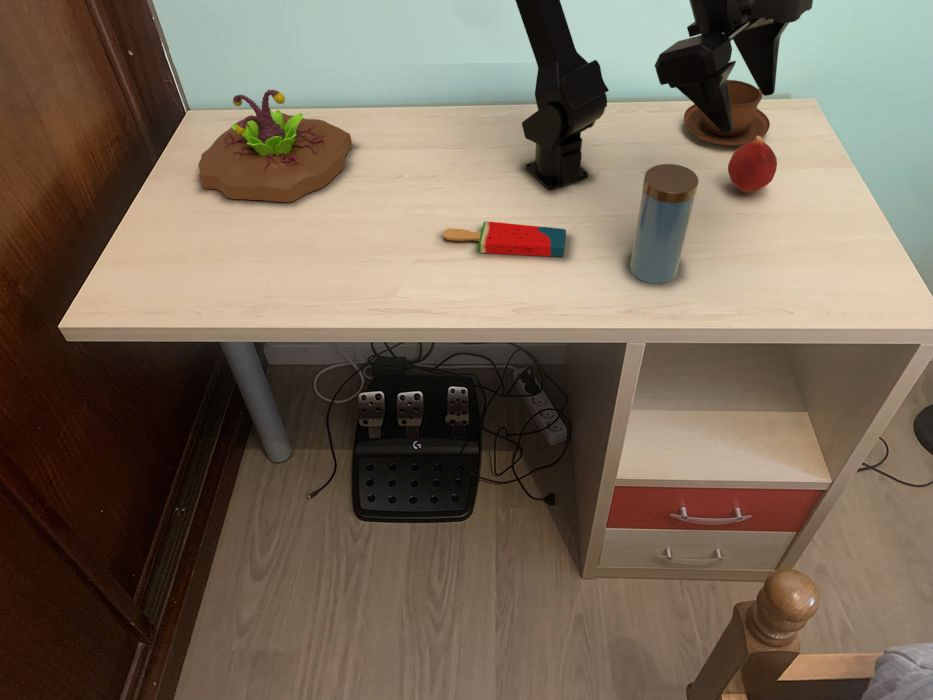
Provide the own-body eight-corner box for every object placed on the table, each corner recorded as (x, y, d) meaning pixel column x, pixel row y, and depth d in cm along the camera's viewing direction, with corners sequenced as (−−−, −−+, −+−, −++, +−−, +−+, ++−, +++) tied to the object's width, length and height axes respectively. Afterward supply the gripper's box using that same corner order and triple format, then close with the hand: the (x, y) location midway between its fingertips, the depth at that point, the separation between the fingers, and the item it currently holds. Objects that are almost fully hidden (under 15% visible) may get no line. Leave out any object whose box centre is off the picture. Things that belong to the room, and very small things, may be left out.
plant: (305, 214, 96) (287, 138, 88) (180, 189, 101) (153, 114, 93) (370, 139, 109) (360, 66, 101) (256, 119, 114) (238, 48, 106)
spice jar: (619, 263, 88) (633, 172, 79) (657, 248, 89) (675, 158, 80) (648, 290, 84) (666, 198, 75) (687, 274, 86) (709, 183, 77)
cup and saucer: (706, 103, 114) (714, 64, 109) (780, 127, 108) (792, 88, 103) (666, 135, 107) (673, 95, 103) (742, 162, 102) (754, 122, 97)
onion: (771, 184, 98) (788, 130, 92) (764, 208, 94) (781, 153, 89) (727, 175, 100) (741, 121, 94) (718, 198, 96) (732, 143, 90)
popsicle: (447, 218, 93) (566, 226, 91) (447, 227, 94) (565, 236, 92) (440, 240, 89) (563, 249, 87) (441, 249, 91) (563, 259, 88)
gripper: (743, -38, 59) (783, 142, 66) (838, -103, 68) (865, 62, 75) (631, -1, 68) (677, 156, 74) (729, -62, 77) (762, 82, 83)
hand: (749, 112), depth 77 cm, fingers open, 9 cm apart
